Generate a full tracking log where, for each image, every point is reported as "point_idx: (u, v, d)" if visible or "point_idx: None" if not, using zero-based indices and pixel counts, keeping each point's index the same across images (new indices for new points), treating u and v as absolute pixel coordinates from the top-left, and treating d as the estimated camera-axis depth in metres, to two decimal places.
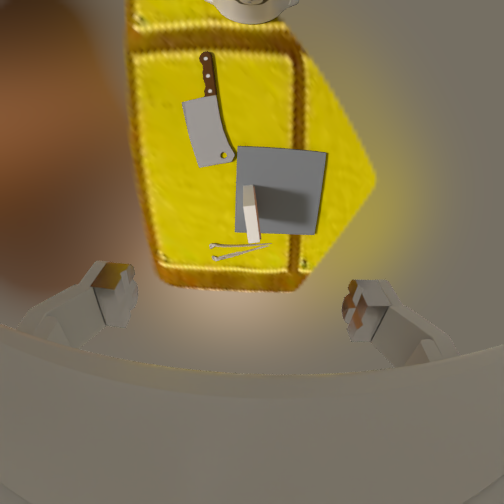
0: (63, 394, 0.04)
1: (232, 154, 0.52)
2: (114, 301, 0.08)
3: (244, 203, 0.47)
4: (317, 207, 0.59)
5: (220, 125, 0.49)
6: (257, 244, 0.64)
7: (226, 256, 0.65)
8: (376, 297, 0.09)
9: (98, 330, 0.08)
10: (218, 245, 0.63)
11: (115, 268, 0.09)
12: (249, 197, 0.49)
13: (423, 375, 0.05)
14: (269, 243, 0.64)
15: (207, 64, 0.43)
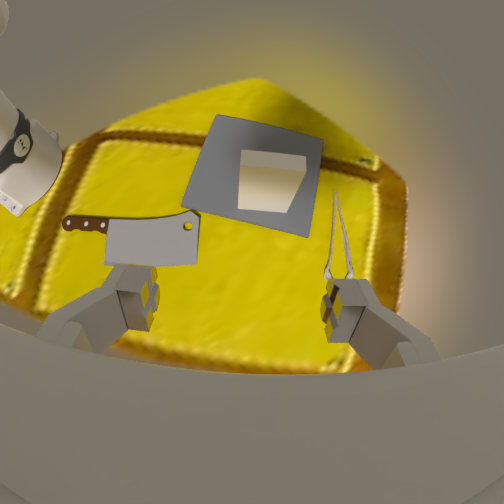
0: (63, 394, 0.04)
1: (189, 214, 0.39)
2: (139, 304, 0.08)
3: None
4: (285, 130, 0.43)
5: (146, 221, 0.38)
6: (333, 209, 0.41)
7: (347, 257, 0.39)
8: (353, 297, 0.08)
9: (120, 334, 0.08)
10: (328, 264, 0.38)
11: (138, 270, 0.09)
12: None
13: (423, 375, 0.05)
14: (333, 193, 0.42)
15: (74, 221, 0.37)
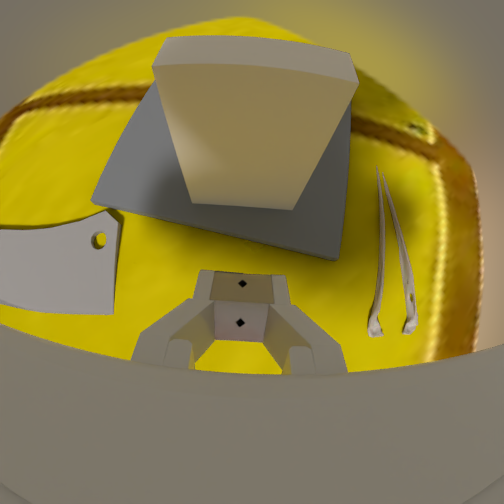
0: (63, 394, 0.04)
1: (102, 216, 0.18)
2: (236, 314, 0.08)
3: None
4: None
5: (40, 231, 0.18)
6: (380, 198, 0.21)
7: (409, 289, 0.19)
8: (259, 293, 0.08)
9: (208, 346, 0.08)
10: (376, 307, 0.18)
11: (229, 278, 0.09)
12: None
13: (423, 375, 0.05)
14: None
15: None
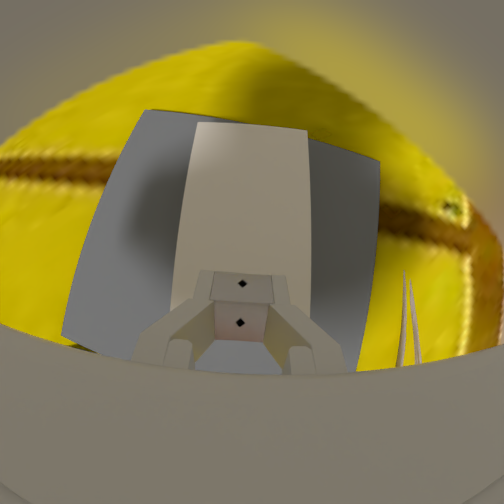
0: (63, 394, 0.04)
1: None
2: (236, 314, 0.08)
3: (194, 141, 0.16)
4: None
5: None
6: (403, 317, 0.17)
7: None
8: (259, 292, 0.08)
9: (208, 346, 0.08)
10: None
11: (229, 278, 0.09)
12: None
13: (423, 375, 0.05)
14: None
15: None
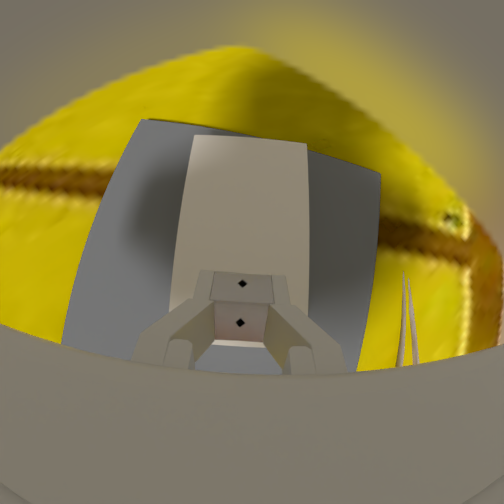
0: (63, 394, 0.04)
1: None
2: (236, 314, 0.08)
3: None
4: None
5: None
6: (402, 327, 0.17)
7: None
8: (259, 293, 0.08)
9: (208, 345, 0.08)
10: None
11: (229, 278, 0.09)
12: None
13: (423, 375, 0.05)
14: (403, 288, 0.17)
15: None
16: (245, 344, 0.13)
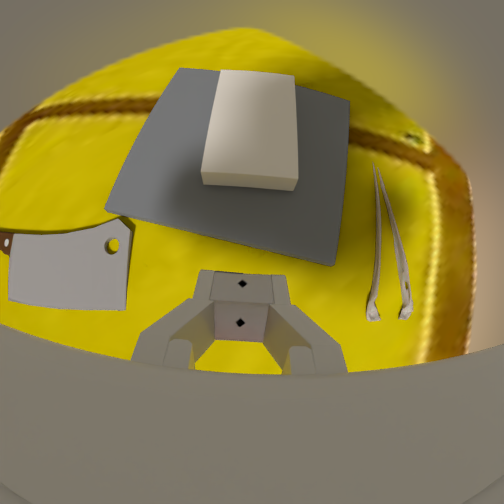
0: (63, 394, 0.04)
1: (115, 224, 0.20)
2: (236, 314, 0.08)
3: (219, 80, 0.22)
4: None
5: (55, 237, 0.20)
6: (376, 194, 0.23)
7: (404, 278, 0.20)
8: (259, 292, 0.08)
9: (208, 346, 0.08)
10: (373, 293, 0.20)
11: (229, 278, 0.09)
12: None
13: (423, 375, 0.05)
14: (373, 170, 0.23)
15: None
16: (255, 173, 0.19)
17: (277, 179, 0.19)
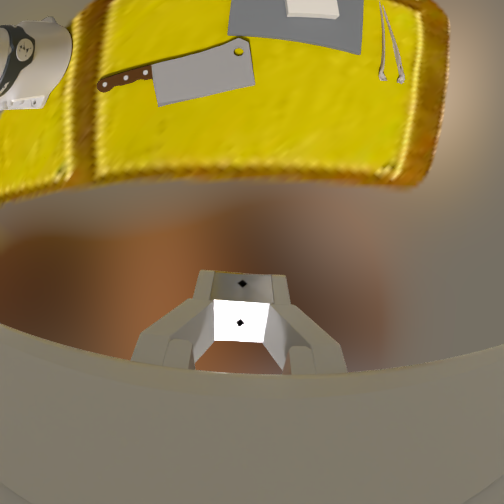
0: (63, 394, 0.04)
1: (237, 40, 0.29)
2: (236, 314, 0.08)
3: None
4: None
5: (193, 55, 0.30)
6: (381, 19, 0.26)
7: (398, 62, 0.29)
8: (259, 293, 0.08)
9: (208, 346, 0.08)
10: (382, 67, 0.30)
11: (229, 278, 0.09)
12: None
13: (423, 375, 0.05)
14: (380, 6, 0.25)
15: (111, 80, 0.31)
16: (317, 13, 0.25)
17: (328, 15, 0.25)
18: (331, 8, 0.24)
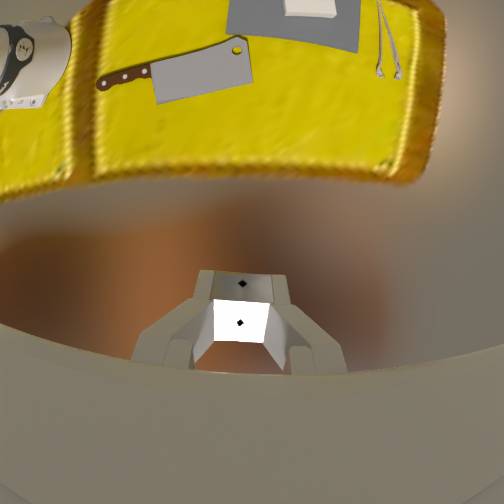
0: (63, 394, 0.04)
1: (235, 39, 0.29)
2: (236, 314, 0.08)
3: None
4: None
5: (192, 54, 0.30)
6: (379, 16, 0.26)
7: (396, 59, 0.29)
8: (259, 292, 0.08)
9: (208, 346, 0.08)
10: (379, 63, 0.30)
11: (229, 278, 0.09)
12: None
13: (423, 375, 0.05)
14: (377, 3, 0.25)
15: (110, 79, 0.31)
16: (315, 12, 0.25)
17: (325, 14, 0.25)
18: (328, 7, 0.24)
